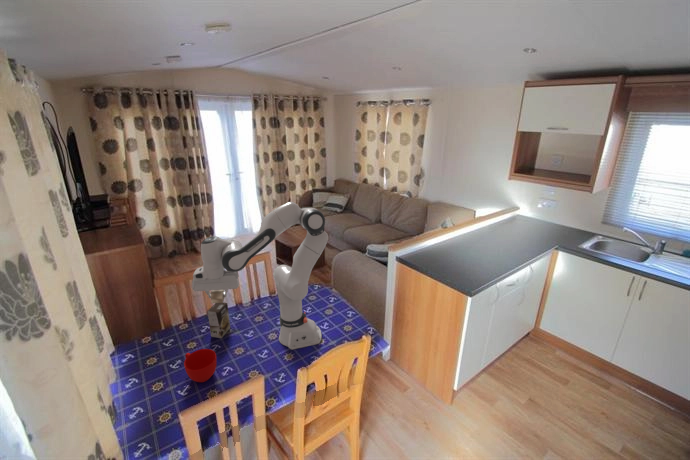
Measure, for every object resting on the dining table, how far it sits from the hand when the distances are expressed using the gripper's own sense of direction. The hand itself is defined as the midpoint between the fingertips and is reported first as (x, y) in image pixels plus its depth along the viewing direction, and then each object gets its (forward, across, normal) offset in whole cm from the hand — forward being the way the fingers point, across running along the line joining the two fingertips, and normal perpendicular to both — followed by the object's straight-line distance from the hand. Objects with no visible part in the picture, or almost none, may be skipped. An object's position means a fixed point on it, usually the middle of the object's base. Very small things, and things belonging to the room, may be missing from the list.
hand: (217, 297), depth 151 cm
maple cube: (+2, 0, 0) cm, 2 cm away
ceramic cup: (+29, +7, +18) cm, 35 cm away
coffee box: (+29, +4, -12) cm, 32 cm away
